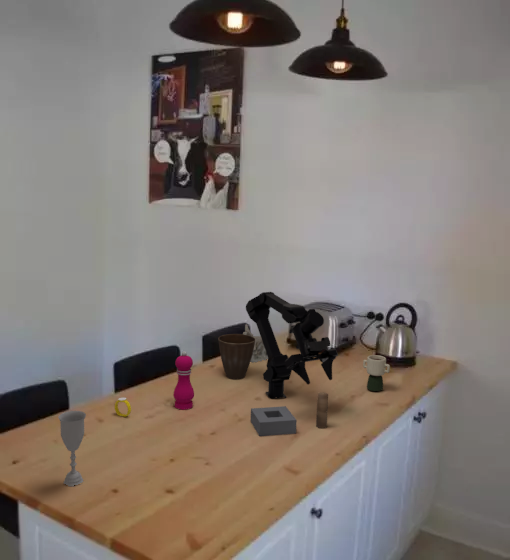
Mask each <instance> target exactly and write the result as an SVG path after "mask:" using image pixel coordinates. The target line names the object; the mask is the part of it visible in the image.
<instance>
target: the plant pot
mask: <svg viewBox="0 0 510 560" xmlns="http://www.w3.org/2000/svg"><path fill="white" fill-rule="evenodd" d="M217 338H218V340H217V341H218V348H219V355H220V359H221V363H222V367H223V370H224V374H225V376H226V378H228V379H230V380H242V379H244V378H245V376H246V375H247V372H248V370H249V367H250V364H251V363H250V361H251V358H252V354H253V350H254V345H255V338H254V337H252V336H249V335H244V334H243V333H242V334H241V333H229V334H222V335H220V336H219V337H217Z"/></svg>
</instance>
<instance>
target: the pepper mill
mask: <svg viewBox="0 0 510 560" xmlns="http://www.w3.org/2000/svg"><path fill="white" fill-rule="evenodd" d="M174 363H175V367H176V374H177V383H176V386H175V388H174V391H173V395H172V396H173V398H174V408H175V409H177V410H183V411H184V410H190V409H192V408H193V405H194V404H193V403H194V402H193V399H194V397H195V391H194V387H193V386H192V383H191V374H192V367H193V365H194V361H193V359H192V357H191V356H189V355H188V353H187V351H185V350H183V351H182V352H181V355H180V356H178V357H177V358H176V359H175V362H174Z"/></svg>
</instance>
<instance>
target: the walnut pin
mask: <svg viewBox="0 0 510 560" xmlns="http://www.w3.org/2000/svg"><path fill="white" fill-rule="evenodd" d="M316 397H317V399H316V417H315V419H316V422H315V426H316V428H317V427H318V429H326V428H327V427H328V412H329V411H328V409H329V408H328V407H329V406H328V405H329V393H327V392H317V396H316Z"/></svg>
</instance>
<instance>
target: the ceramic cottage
mask: <svg viewBox="0 0 510 560" xmlns="http://www.w3.org/2000/svg"><path fill="white" fill-rule="evenodd" d="M242 334H244V335H249V336H252V337H254V338H255V345H254V350H253V354H252V358H251V361H250V362H252V363H254V362H255V363H258V361H260V362H263V361H262V360H264V361H267V360H266V359H268V355H267V353H266V350H265V347H264V344H263V341H262V338H261V336H260V335H258V336H254V334H253V333H252V332H251V330H250V328H249V325H248V324H247V323H246V324H244V331H243V333H242Z"/></svg>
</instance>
